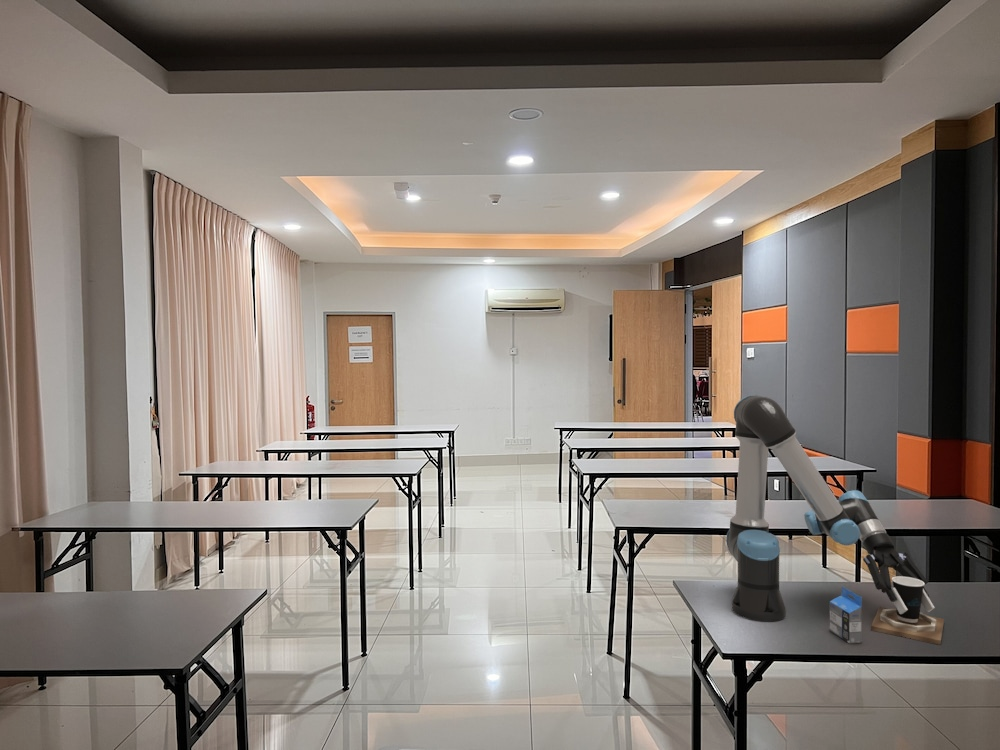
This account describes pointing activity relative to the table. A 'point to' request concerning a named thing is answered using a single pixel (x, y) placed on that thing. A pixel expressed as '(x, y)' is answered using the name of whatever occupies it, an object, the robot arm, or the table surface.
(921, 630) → the board
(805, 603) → the table surface
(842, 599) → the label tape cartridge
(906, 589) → the dixie cup
